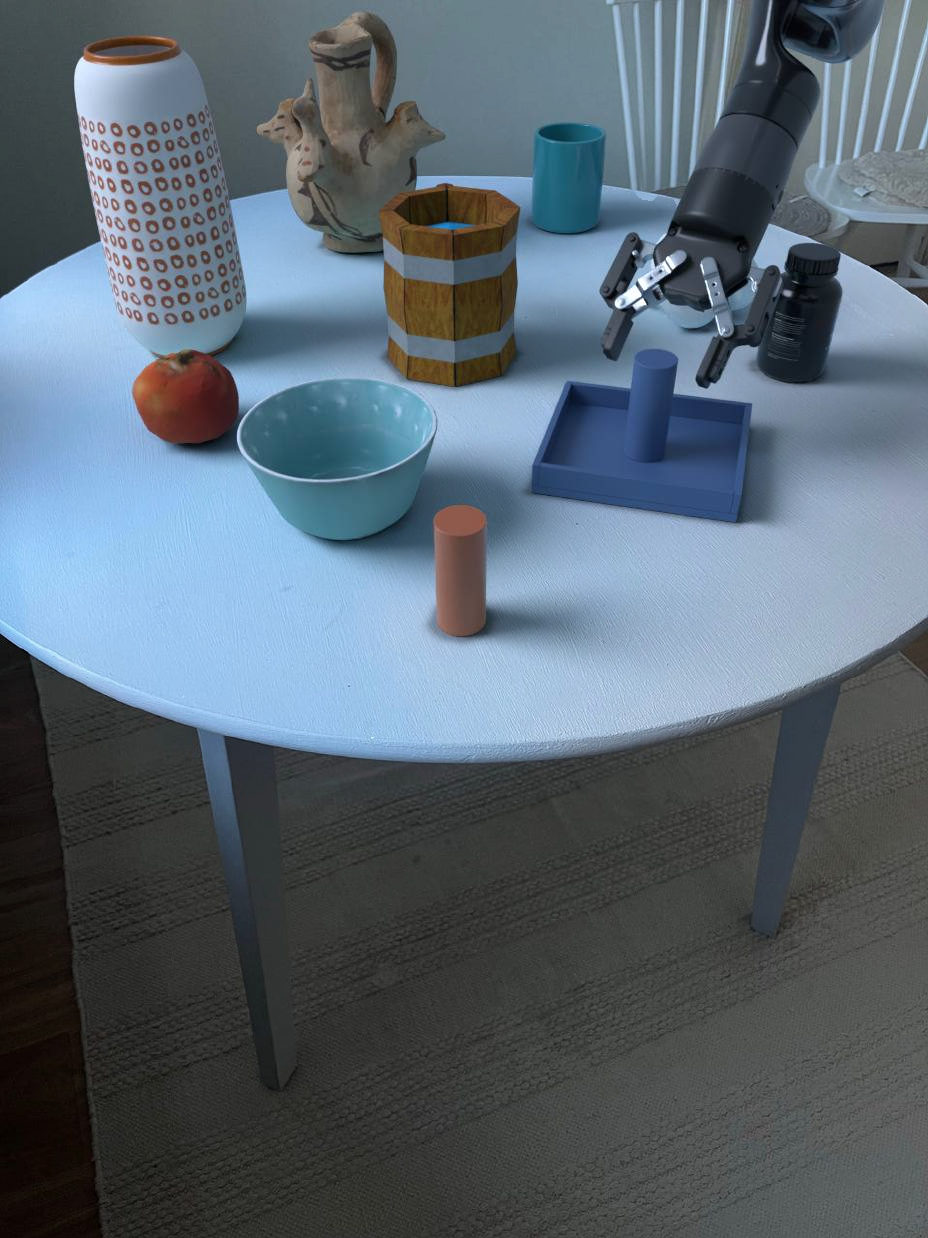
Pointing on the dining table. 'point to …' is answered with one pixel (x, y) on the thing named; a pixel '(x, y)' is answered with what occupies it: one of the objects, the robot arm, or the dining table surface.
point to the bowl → (340, 453)
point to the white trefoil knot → (697, 319)
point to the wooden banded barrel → (450, 283)
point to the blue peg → (650, 404)
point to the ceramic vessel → (349, 136)
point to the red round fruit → (186, 397)
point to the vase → (160, 195)
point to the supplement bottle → (803, 315)
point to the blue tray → (677, 483)
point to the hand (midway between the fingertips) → (654, 370)
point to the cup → (567, 176)
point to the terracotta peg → (460, 569)
